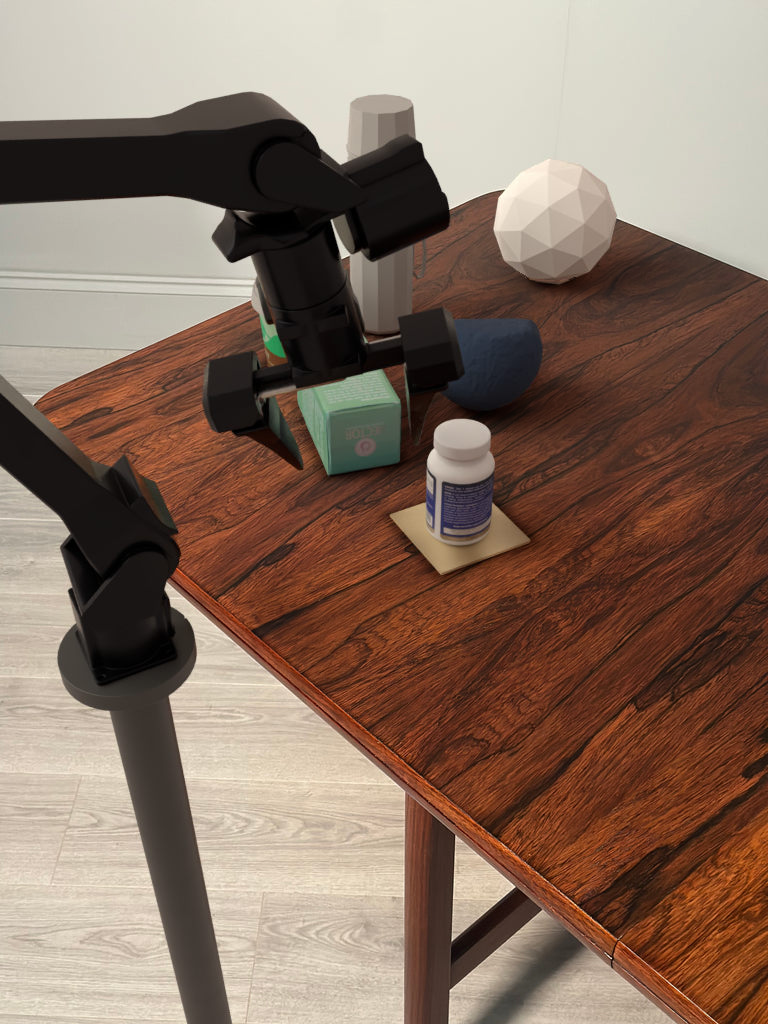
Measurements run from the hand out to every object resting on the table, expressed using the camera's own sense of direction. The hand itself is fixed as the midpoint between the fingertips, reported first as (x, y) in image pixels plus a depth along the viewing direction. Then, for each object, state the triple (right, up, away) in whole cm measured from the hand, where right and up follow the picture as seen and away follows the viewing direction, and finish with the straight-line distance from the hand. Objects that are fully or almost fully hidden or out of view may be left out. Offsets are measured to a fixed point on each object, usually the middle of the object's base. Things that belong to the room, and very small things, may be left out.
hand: (358, 454), depth 81 cm
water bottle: (+3, +18, +41) cm, 45 cm away
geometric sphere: (+23, +25, +51) cm, 61 cm away
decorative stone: (+12, +7, +27) cm, 31 cm away
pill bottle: (+8, -6, +10) cm, 15 cm away
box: (-2, +3, +22) cm, 23 cm away
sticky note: (+9, -6, +11) cm, 15 cm away
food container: (-9, +11, +33) cm, 36 cm away
